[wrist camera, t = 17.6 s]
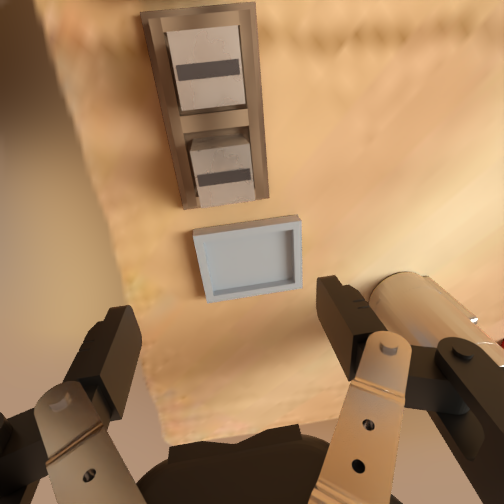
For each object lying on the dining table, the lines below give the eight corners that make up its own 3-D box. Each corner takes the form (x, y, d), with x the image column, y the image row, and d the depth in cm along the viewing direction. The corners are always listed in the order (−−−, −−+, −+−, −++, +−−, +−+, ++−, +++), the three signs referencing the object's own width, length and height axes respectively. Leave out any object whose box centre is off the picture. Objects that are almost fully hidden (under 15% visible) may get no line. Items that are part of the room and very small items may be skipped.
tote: (297, 214, 38) (301, 220, 36) (298, 279, 42) (302, 288, 41) (193, 229, 37) (192, 236, 35) (207, 294, 42) (207, 303, 40)
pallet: (253, 4, 27) (258, -3, 25) (267, 195, 36) (271, 202, 34) (141, 14, 26) (136, 8, 24) (184, 206, 35) (182, 214, 33)
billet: (241, 132, 31) (249, 144, 25) (246, 180, 34) (255, 200, 27) (193, 139, 31) (189, 152, 25) (202, 186, 33) (201, 208, 27)
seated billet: (230, 39, 27) (238, 24, 21) (237, 100, 30) (245, 103, 23) (175, 44, 27) (166, 31, 21) (187, 106, 29) (181, 111, 23)
